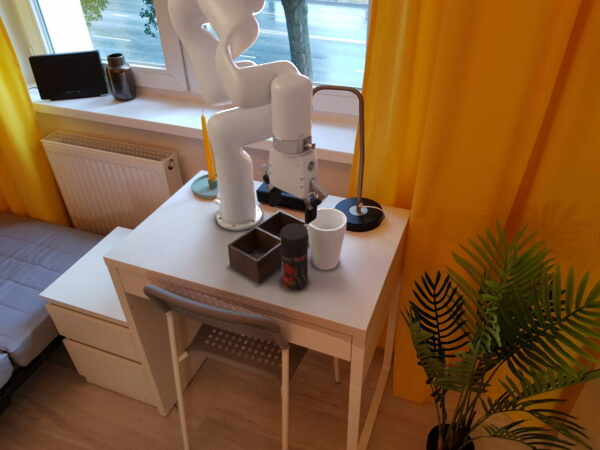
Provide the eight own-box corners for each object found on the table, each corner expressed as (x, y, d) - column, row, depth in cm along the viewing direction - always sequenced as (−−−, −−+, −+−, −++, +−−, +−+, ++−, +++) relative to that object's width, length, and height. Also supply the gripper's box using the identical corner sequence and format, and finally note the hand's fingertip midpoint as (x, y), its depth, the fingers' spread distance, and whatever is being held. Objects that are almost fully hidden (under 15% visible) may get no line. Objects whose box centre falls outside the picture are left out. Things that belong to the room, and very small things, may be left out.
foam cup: (301, 254, 124) (300, 212, 116) (334, 246, 127) (336, 204, 119) (315, 278, 117) (316, 234, 109) (350, 268, 119) (353, 225, 112)
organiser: (230, 267, 120) (227, 245, 116) (280, 230, 132) (279, 209, 128) (259, 284, 115) (257, 261, 111) (309, 245, 127) (309, 223, 123)
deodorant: (312, 284, 115) (312, 233, 106) (290, 294, 112) (289, 243, 104) (299, 270, 119) (298, 220, 110) (277, 279, 117) (275, 229, 108)
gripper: (340, 146, 92) (335, 219, 102) (271, 121, 101) (274, 190, 111) (315, 162, 87) (313, 237, 98) (246, 134, 96) (251, 205, 106)
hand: (292, 212), depth 104 cm, fingers open, 9 cm apart
